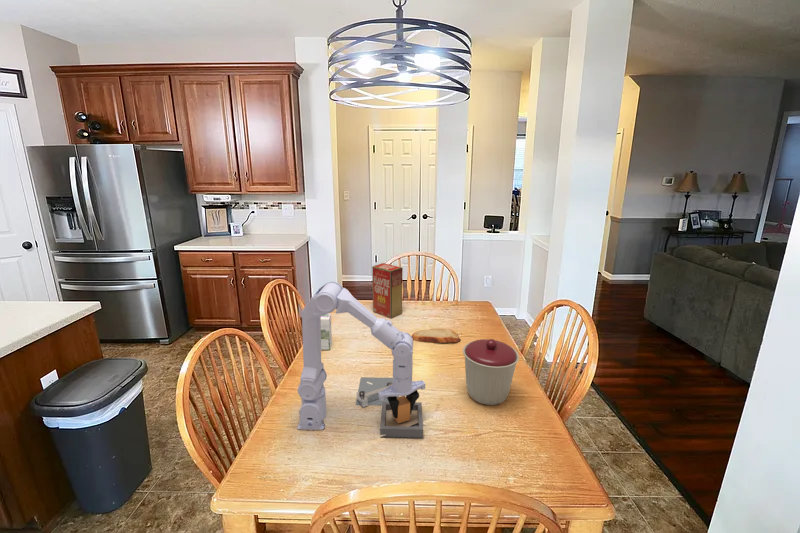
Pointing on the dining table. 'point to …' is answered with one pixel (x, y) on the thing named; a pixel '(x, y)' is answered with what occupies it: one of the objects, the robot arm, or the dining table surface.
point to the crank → (369, 396)
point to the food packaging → (387, 290)
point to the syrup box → (326, 332)
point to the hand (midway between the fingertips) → (401, 414)
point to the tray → (402, 431)
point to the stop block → (403, 410)
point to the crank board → (373, 388)
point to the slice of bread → (436, 336)
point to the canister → (489, 370)
